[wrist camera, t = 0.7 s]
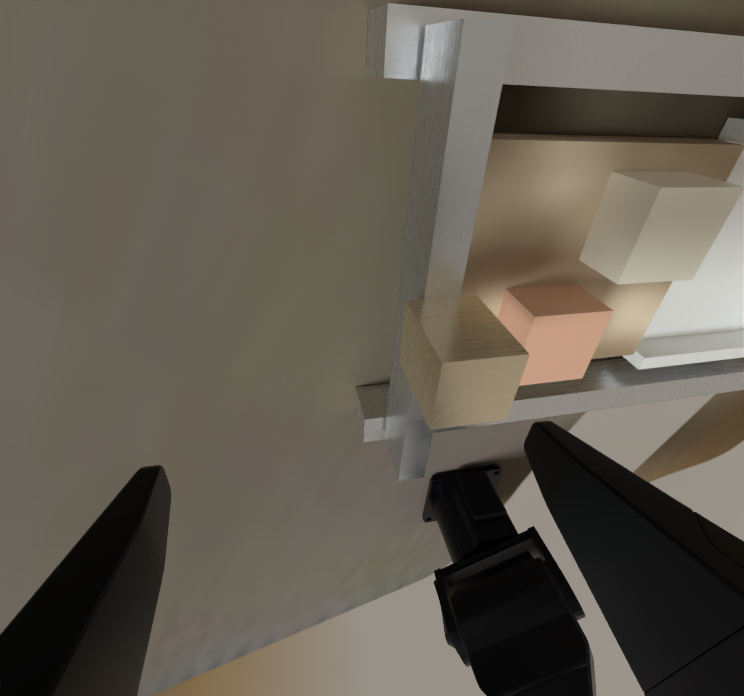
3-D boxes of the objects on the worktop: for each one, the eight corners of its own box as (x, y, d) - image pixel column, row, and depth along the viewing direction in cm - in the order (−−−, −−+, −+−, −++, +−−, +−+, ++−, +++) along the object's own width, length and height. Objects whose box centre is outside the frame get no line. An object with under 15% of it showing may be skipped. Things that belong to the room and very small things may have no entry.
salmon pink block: (552, 348, 25) (582, 378, 23) (487, 354, 24) (511, 386, 22) (576, 284, 23) (613, 310, 20) (505, 288, 22) (535, 316, 19)
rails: (714, 365, 34) (748, 389, 31) (354, 409, 27) (363, 442, 25) (927, 60, 22) (1009, 60, 19) (368, 11, 15) (388, 2, 13)
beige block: (647, 256, 23) (692, 279, 20) (578, 259, 22) (617, 284, 19) (687, 171, 20) (744, 187, 18) (611, 171, 19) (661, 187, 17)
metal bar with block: (418, 433, 25) (464, 542, 20) (372, 439, 25) (405, 553, 19) (488, 30, 14) (648, 12, 8) (404, 23, 13) (513, -2, 7)
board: (613, 338, 29) (633, 354, 27) (416, 357, 26) (426, 376, 24) (710, 138, 21) (745, 145, 20) (449, 131, 18) (466, 138, 17)
